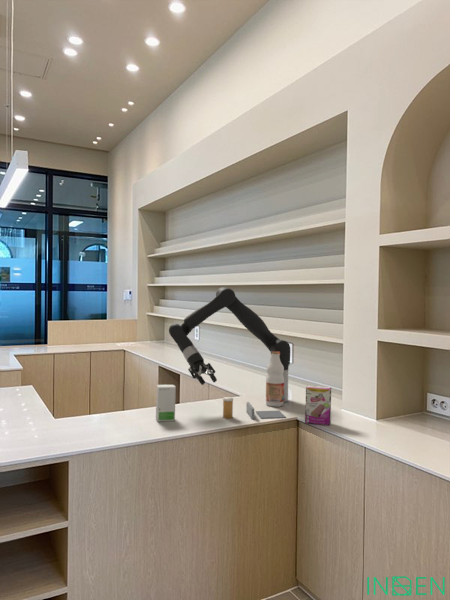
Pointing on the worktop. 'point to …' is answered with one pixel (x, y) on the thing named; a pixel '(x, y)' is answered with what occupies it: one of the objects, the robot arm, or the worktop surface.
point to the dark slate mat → (270, 414)
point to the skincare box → (165, 403)
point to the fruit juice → (275, 381)
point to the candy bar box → (318, 405)
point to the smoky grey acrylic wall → (250, 410)
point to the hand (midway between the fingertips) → (209, 382)
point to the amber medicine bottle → (227, 407)
